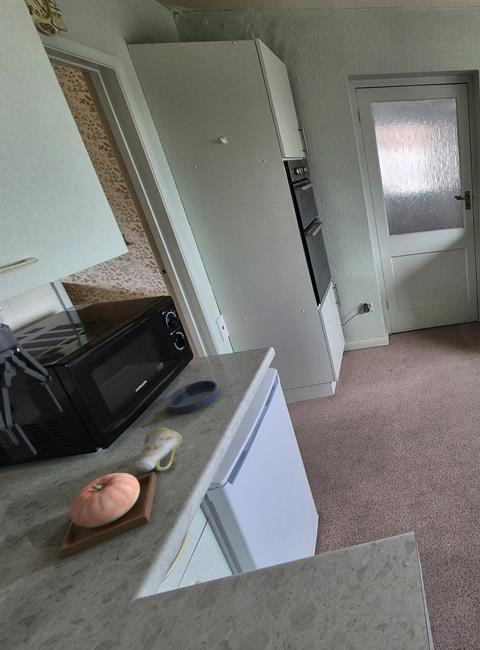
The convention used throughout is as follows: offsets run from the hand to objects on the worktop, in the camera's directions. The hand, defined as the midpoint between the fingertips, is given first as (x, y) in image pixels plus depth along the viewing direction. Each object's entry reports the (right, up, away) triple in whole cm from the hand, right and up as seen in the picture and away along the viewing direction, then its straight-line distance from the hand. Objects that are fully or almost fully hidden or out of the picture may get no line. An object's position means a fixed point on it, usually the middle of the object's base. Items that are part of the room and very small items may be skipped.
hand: (40, 434), depth 70 cm
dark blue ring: (-2, -4, +44) cm, 44 cm away
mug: (+5, -14, +22) cm, 27 cm away
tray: (+6, -19, +9) cm, 22 cm away
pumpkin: (+6, -19, +9) cm, 22 cm away
